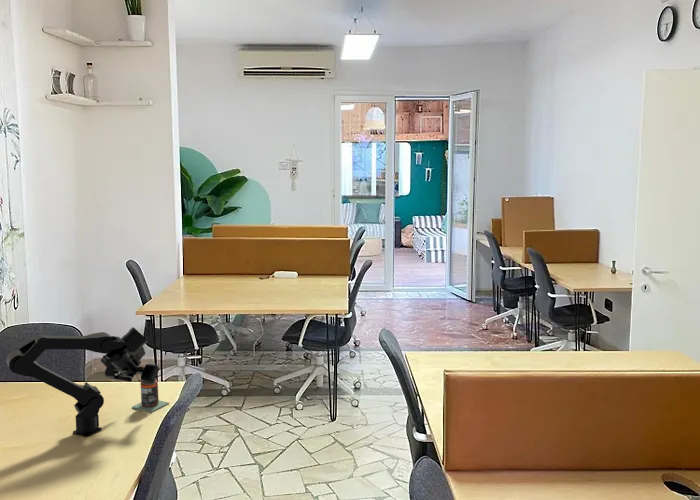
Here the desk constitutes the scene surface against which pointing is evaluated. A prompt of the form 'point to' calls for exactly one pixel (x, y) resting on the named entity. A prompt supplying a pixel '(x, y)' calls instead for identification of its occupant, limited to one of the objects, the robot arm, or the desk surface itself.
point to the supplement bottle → (149, 394)
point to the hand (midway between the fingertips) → (142, 382)
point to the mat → (150, 409)
